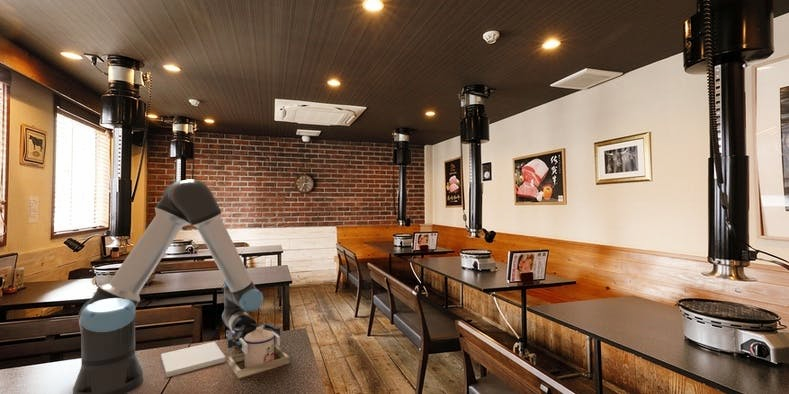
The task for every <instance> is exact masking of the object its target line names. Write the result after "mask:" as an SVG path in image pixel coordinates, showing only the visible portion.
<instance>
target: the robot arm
mask: <svg viewBox="0 0 789 394" xmlns="http://www.w3.org/2000/svg"><path fill="white" fill-rule="evenodd" d="M154 211H155V216H154V217H153V219H152V221H151V222H150V223H149V224H148V226H147V227H146V229H145V231H143V233H142V235H141V236H140V238H138V241H137V242H136V243H135V245H134V246H133V248H132V249H131V251H130V252H129V254H128V255H127V257H126V258H125V259H124V261H123V262H122V264H121V265H120V267H119V268H118V270H117V271H115V272H116V273H115V274H114V275H113V277H112V278H111V280H110V281H109V282H108V283H105V284H101V285H100V286H99V287H98V289H96V292H95V293H94V294H93V296H92V297H91V298H90V299H89V300H87V301H86V303H84V304H83V305H82V307H81V309H80V310H79V313H78V319H77V320H78V325H79V330H80V335H81V337H80V339H81V340H80V341H81V343H80V344H81V347H80V348H81V349H80V350H81V353H80V354H81V356H80V357H81V358H80V359H81V365H80V369H79V372H78V375H77V378H76V380H75V382H74V385H73V387H72V394H127V393H130V392H131V391H133V390H135V389H137V388H138V387H139V386H140V385H141V384H142V383H143V380H144V376H143V375H144V373H143V368H142V367H141V364H140V362H139V359H138V358H137V354H136V314H137V313H136V312H137V309H136V307H137V306H138V305H139V303H140V301H141V297H140V292H141V290H142V289H143V288H144V286H145V284H147V282H148V280H149V278H150V277H151V275H152V273H153V272H154V271H155V270H156V268H157V266H158V264H159V263H160V262H161V260H162V258H163V257H164V256H165V254H166V252H167V251H168V249H169V247H170V246H171V245H172V243H173V241H174V240H175V238H176V237H177V236H178V234H179V233H180V231H181V229H182V228H183V227H186V226H190V225H191V226H192V227H195V228H196V229H197V230H198V232H199V235H200V236H201V238H202V240H203V243H205V246H206V247H207V249H208V251H209V253H210V255H211V257H212V258H213V261H214V262H215V263H214V264H216V266H217V268H218V270H219V272H220V274H221V276H222V278H223V296H224V297H223V304H224V305H223V306H224V307H223V308H224V310H223V312H222V314H221V319H222V321H223V323H224V325H225V326H226V327H227V328H228V329H227V330H226V331H225V336H226V337H225V339H226V340H227V349H232V348H233V347H234V350H235V351H237V350H241V351H242V353H244V354H248V344H247V343H246V342H245V341H244V337H245V336H246V335H247V334H248V333H251V332H253V331H255V330H256V328H257V327H259V326H261V327H263V329H265V330H269V331H272V332H273V333H274V335H275V337H274V345H277V346H278V347H280V344H281V338H280V337H281V328H280V327H278V326H276V325H273V324H270V322H268V321H265V322H263V324H259V323H257V322H256V320H255V319H254V318H253V317H252V316H251V315H250V314H249V313H247V312H255V311H257V310H258V309H259V308H260V307H262V304H263V302H264V295H263V292H261V291H260V290H259V289H257V287H256V286H255V284H254V281H253V279H252V277H251V276H250V274H249V272H248V270H247V268H246V266H245V263H244V262H243V260H242V258H241V255H240V254H239V252H238V250H237V248H236V246H235V243H234V242H233V240H232V238H231V236H230V234H229V231H228V230H227V227H226V225H225V224H224V222H223V219H222V218H221V216H222V213H223V212H222V211H221V208H220V206H219V204H218V202H217V200H216V197H215V196H214V193H213V192H212V190H211V189H210V187H209V186H208V185H207V184H206V183H204V182H202V180H201V181H200V180H198V179H193V178H191V179H184V180H177V181H174V182H172V183H170V184H169V185H167V186H166V187H165V189H163V193H162V195H161V198H160V200H159V201H158V203H157V204H156V205H155V207H154ZM234 336H235V337H234ZM233 338H234V339H233Z"/></svg>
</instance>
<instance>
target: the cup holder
mask: <svg viewBox="0 0 789 394" xmlns="http://www.w3.org/2000/svg"><path fill="white" fill-rule="evenodd" d="M274 354H276V355H277V357H279V358H276V359H274V360H273V361H269V362H266V363H262V364H259V365H255V366H252V367H248V368H245V367H244V368H242V369H241V368H240V367H239V366H238V364H237V363H239V362H243V361H245V354H244V352H241V353H239V354H235V355H231V356H228V357H227V364H228V365H229V367H230V369H231V370H232V371H233V373H234V374H235V376H236V377H237V378H238V379H242V378H245V377H248V376H252V375H255V374H258V373H261V372H265V371H268V370H271V369H275V368H279V367H282V366H284V365H285V366H286V365H288V364H290V356H289V355H288V354H287V353H286V352H284V351H283V349H281V348H280V346H277V345H276V344H274Z"/></svg>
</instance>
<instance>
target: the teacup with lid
mask: <svg viewBox="0 0 789 394" xmlns="http://www.w3.org/2000/svg"><path fill="white" fill-rule="evenodd" d="M274 337H275V335H274V333H273V332H272V331H269V330H265V329H263V327H261V326H259V327H257V328H256V330H255V331H253V332H251V333H248V334H247V335H246V336H245V337H244V341H245V342H246V343H247V344H248V354H245V360H244V369H245V368H248V367H252V366H255V365H259V364H262V363H266V362H269V361H273V360H275V352H274V345H275V343H274Z"/></svg>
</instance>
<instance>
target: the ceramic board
mask: <svg viewBox="0 0 789 394" xmlns="http://www.w3.org/2000/svg"><path fill="white" fill-rule="evenodd" d="M160 360H161V364H162V367H163V372H164V374H165V377H166V378H168V377H170V378H171V377H174V376H177V375H181V374H184V373H188V372H189V373H190V372H192V371H196V370H200V369H203V368H206V367H210V366H211V367H212V366H214V365H218V364H222V363H226V355H225V354H224V353H223V352H222V350H221V348H219V346H218V344H217V342H216V341H212V342H207V343H203V344H198V345H193V346H190V347H189V346H188V347H185V348H181V349H180V348H179V349H176V350H172V351H168V352H163V353H160Z"/></svg>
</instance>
